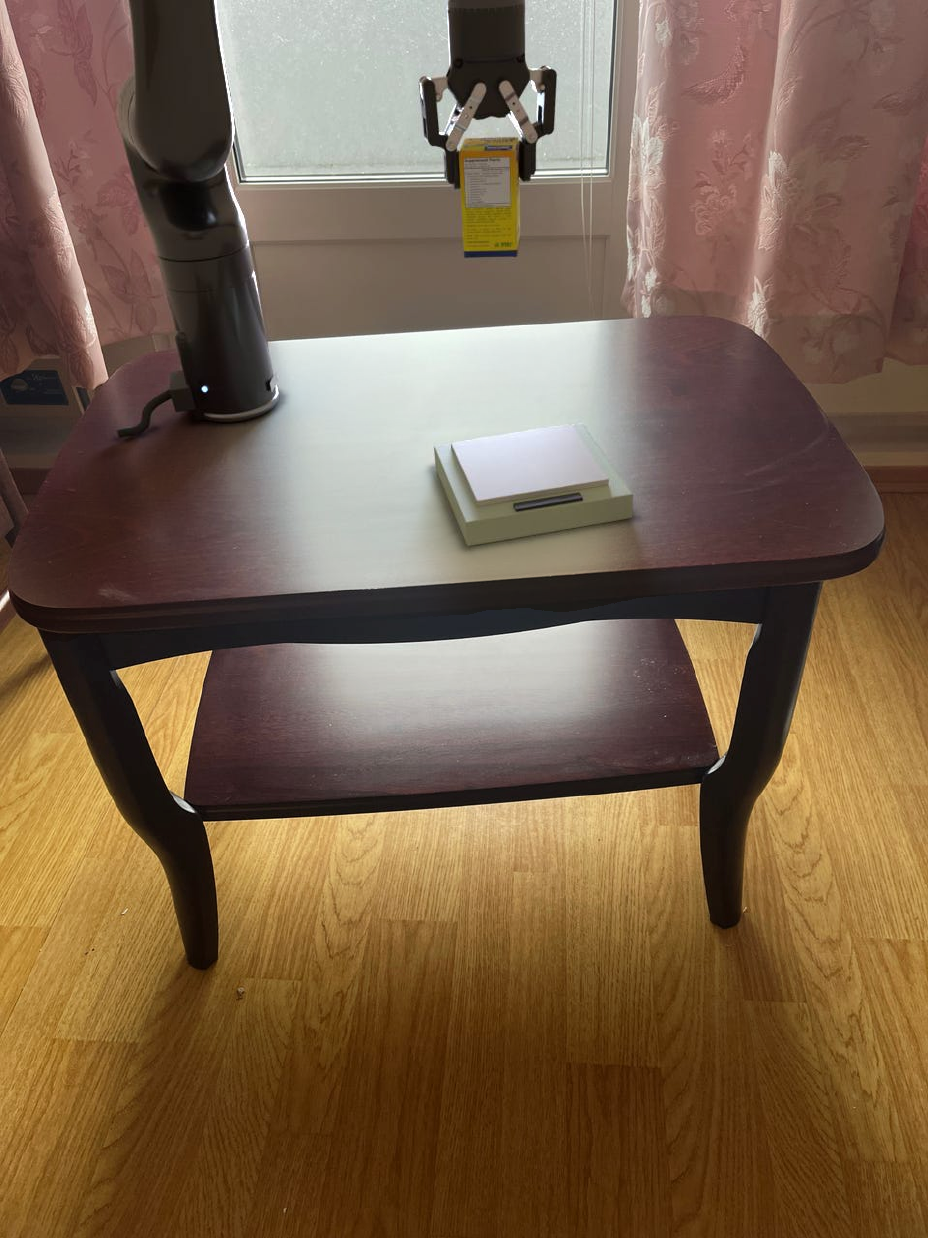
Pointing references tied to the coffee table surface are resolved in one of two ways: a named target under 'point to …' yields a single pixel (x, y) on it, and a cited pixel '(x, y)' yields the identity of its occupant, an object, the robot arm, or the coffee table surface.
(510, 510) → the scale
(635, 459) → the coffee table surface
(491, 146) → the supplement box
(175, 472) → the coffee table surface
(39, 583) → the coffee table surface
